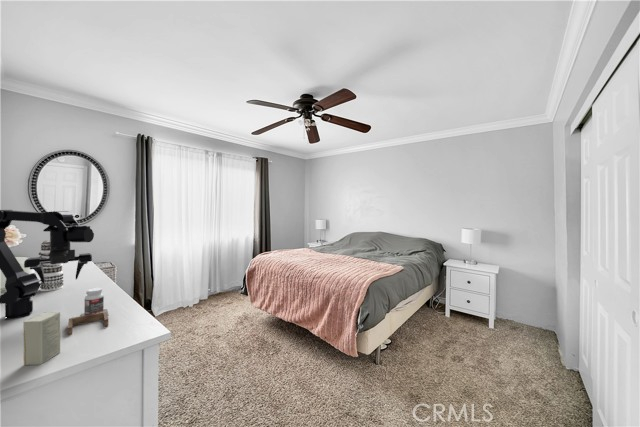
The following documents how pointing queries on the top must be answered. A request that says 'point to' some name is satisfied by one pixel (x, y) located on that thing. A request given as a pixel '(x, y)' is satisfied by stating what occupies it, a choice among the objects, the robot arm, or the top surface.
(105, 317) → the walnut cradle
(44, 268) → the decorative candle
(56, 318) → the skincare box
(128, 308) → the top surface
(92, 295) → the pill bottle
